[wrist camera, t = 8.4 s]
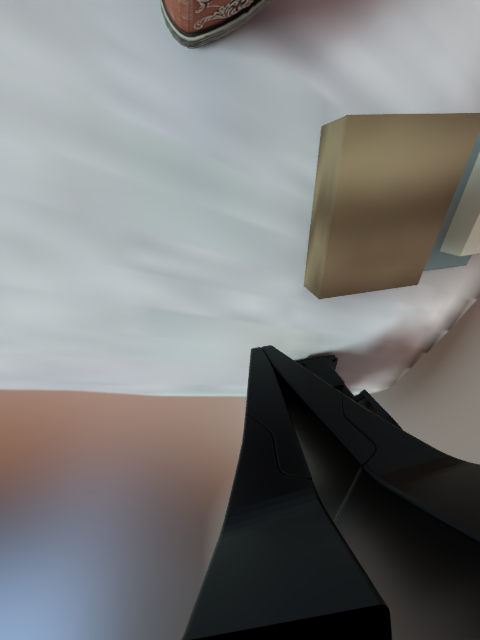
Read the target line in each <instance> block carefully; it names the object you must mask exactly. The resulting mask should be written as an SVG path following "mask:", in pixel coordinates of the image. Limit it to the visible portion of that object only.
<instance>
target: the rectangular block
mask: <svg viewBox="0 0 480 640" xmlns="http://www.w3.org/2000/svg"><path fill="white" fill-rule="evenodd" d="M440 251H441V252H445V253H449V254H452V255H456V256H466V255H472V254H479V253H480V153H479V155H478V158H477V160H476V163H475V165H474V167H473V170H472V172H471V175H470V177H469V180H468V182H467V185H466V187H465V190H464V192H463V195H462V197H461V200H460V202H459V204H458V207H457V209H456V212H455V214H454V217H453V219H452V222H451V224H450V227H449V229H448V232H447V234H446V237H445V239H444V241H443V244H442V246H441V249H440Z"/></svg>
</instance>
